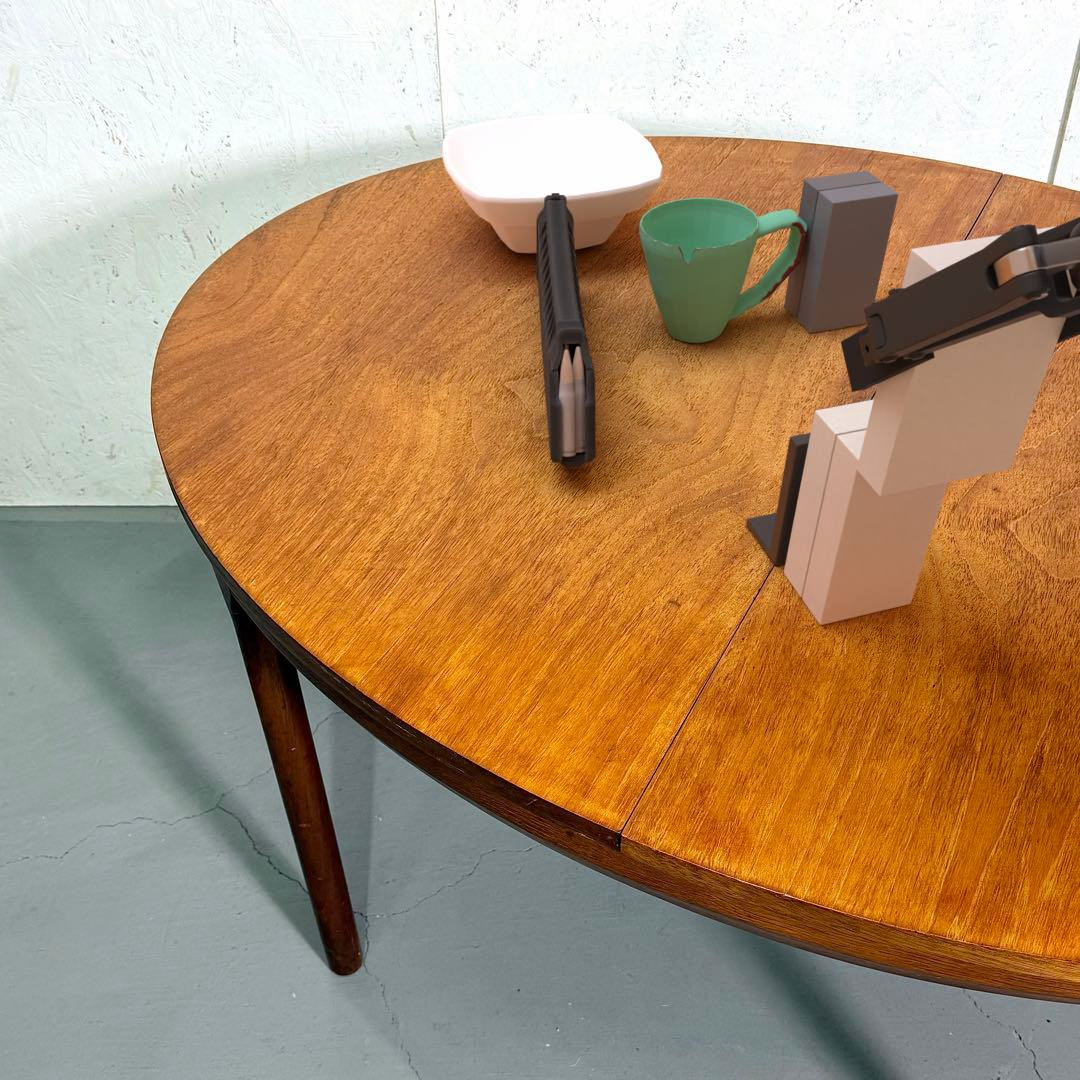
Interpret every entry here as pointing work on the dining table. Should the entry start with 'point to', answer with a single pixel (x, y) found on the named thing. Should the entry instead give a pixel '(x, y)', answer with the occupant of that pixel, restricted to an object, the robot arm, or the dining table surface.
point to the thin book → (957, 396)
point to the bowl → (552, 173)
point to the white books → (845, 523)
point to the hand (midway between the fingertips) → (926, 352)
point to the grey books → (840, 249)
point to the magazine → (564, 339)
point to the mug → (711, 261)
